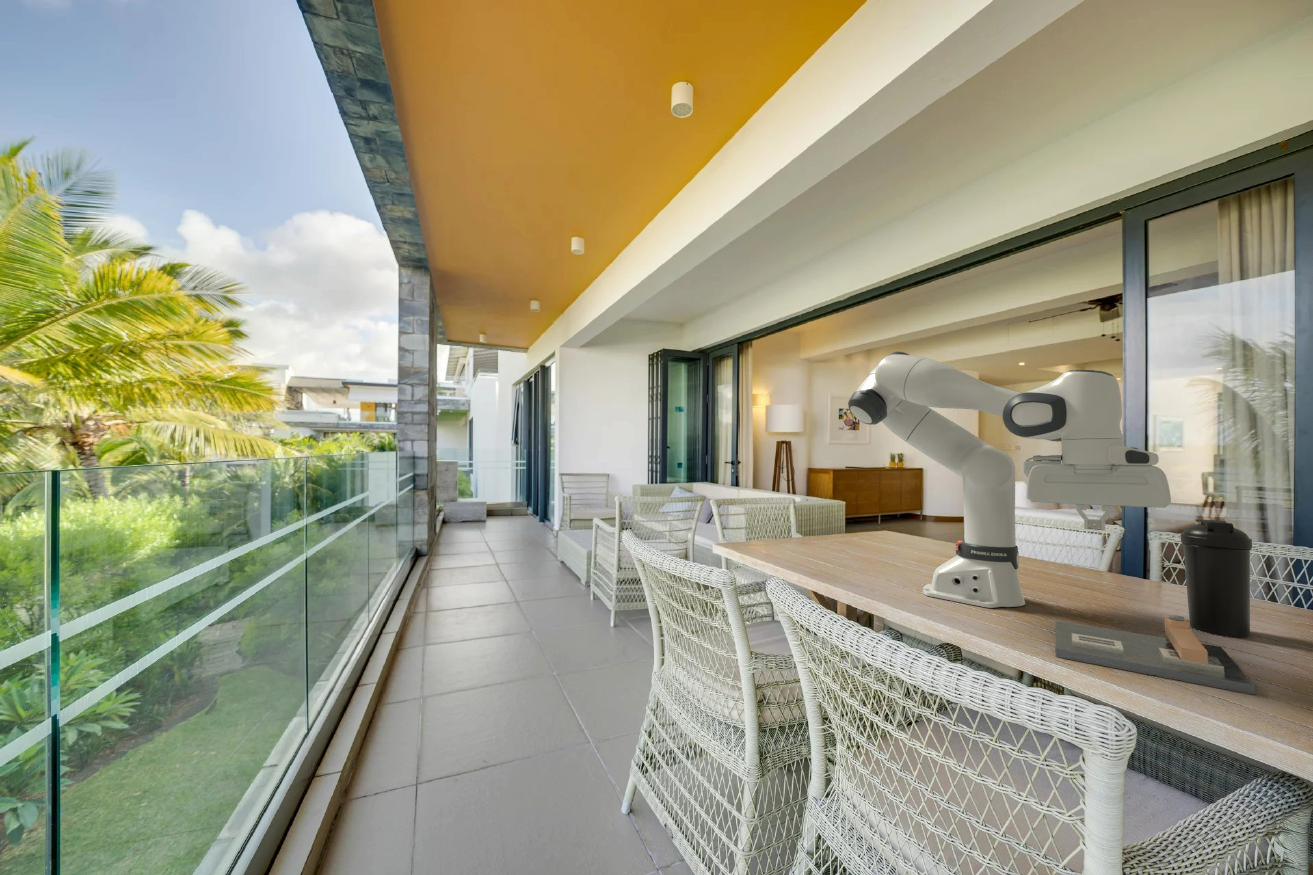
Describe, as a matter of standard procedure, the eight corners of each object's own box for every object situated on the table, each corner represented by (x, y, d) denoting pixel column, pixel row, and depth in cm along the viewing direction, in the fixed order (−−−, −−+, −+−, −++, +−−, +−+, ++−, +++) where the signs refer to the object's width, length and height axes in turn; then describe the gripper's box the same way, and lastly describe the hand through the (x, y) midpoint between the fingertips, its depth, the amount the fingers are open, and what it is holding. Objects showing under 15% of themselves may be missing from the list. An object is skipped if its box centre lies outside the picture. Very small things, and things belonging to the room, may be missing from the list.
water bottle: (1245, 628, 108) (1240, 520, 108) (1265, 643, 99) (1260, 525, 100) (1178, 619, 113) (1173, 516, 114) (1192, 632, 105) (1187, 521, 106)
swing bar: (1164, 637, 97) (1163, 612, 97) (1188, 641, 95) (1187, 615, 95) (1181, 666, 84) (1179, 636, 84) (1209, 671, 82) (1207, 641, 82)
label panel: (1055, 656, 92) (1055, 642, 92) (1055, 627, 108) (1055, 615, 108) (1254, 694, 78) (1253, 677, 78) (1221, 654, 93) (1220, 640, 93)
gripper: (1022, 455, 99) (1024, 526, 98) (1170, 454, 86) (1174, 536, 85) (1024, 455, 104) (1026, 523, 103) (1164, 454, 91) (1168, 532, 90)
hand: (1094, 529), depth 94 cm, fingers closed
